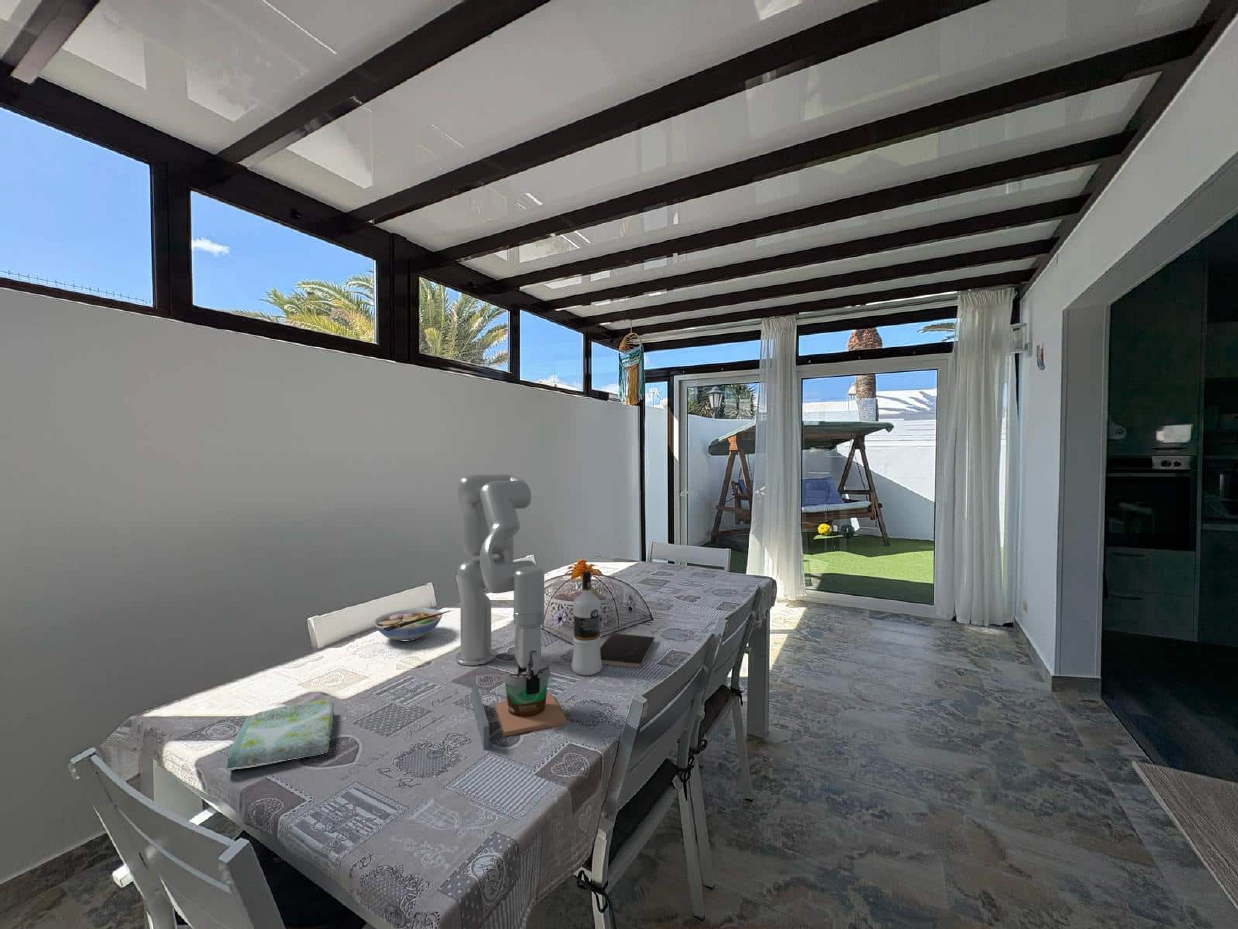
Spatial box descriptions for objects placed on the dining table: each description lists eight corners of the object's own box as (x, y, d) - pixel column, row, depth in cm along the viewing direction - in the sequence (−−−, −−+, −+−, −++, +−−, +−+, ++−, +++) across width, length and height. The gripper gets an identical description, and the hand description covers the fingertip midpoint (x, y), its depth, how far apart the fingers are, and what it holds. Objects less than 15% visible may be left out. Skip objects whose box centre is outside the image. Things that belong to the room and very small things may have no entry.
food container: (508, 724, 121) (508, 681, 121) (502, 712, 126) (502, 672, 126) (557, 712, 126) (557, 672, 126) (549, 702, 132) (549, 663, 132)
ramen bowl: (421, 622, 198) (421, 601, 198) (458, 634, 185) (458, 612, 185) (357, 641, 178) (357, 618, 178) (393, 656, 164) (393, 631, 164)
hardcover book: (654, 643, 178) (654, 637, 178) (640, 670, 155) (640, 662, 155) (610, 639, 182) (610, 633, 182) (590, 664, 159) (590, 657, 159)
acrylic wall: (472, 704, 133) (472, 685, 133) (477, 703, 133) (477, 684, 133) (483, 749, 112) (483, 726, 112) (489, 748, 113) (489, 725, 113)
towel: (335, 713, 129) (335, 693, 129) (328, 758, 110) (328, 734, 110) (248, 729, 121) (248, 708, 121) (224, 781, 102) (224, 756, 102)
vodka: (592, 661, 161) (592, 567, 160) (607, 671, 153) (607, 572, 152) (566, 668, 155) (566, 570, 155) (580, 679, 148) (580, 576, 147)
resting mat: (494, 706, 131) (494, 703, 131) (550, 696, 137) (550, 692, 137) (504, 736, 117) (504, 732, 117) (566, 723, 123) (566, 719, 123)
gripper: (507, 608, 134) (507, 672, 134) (520, 630, 118) (520, 703, 118) (535, 605, 136) (535, 668, 137) (552, 626, 120) (551, 698, 121)
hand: (528, 684), depth 128 cm, fingers open, 9 cm apart
